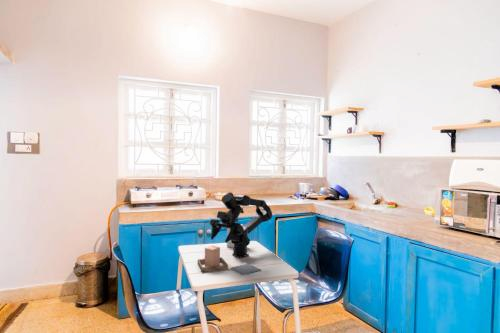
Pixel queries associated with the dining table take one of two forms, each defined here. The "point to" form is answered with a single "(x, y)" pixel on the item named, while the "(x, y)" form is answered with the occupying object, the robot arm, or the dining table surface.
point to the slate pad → (245, 269)
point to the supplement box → (229, 243)
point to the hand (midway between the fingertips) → (218, 240)
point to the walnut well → (212, 268)
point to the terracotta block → (212, 256)
